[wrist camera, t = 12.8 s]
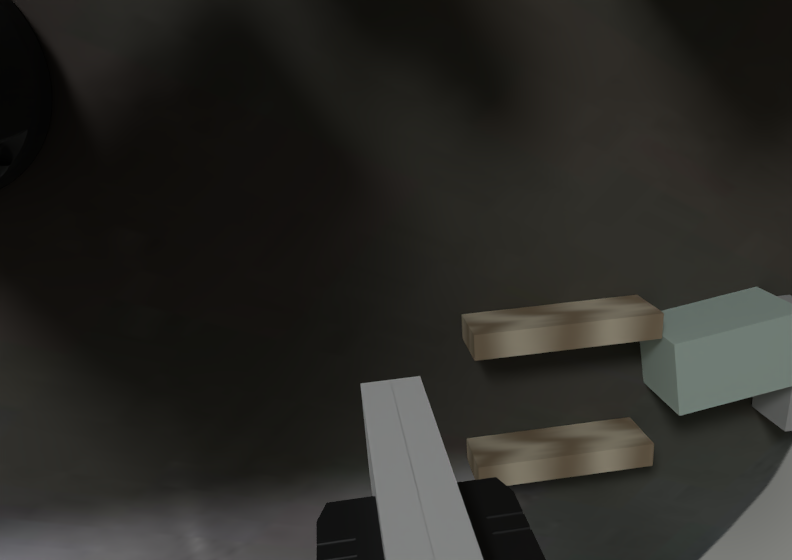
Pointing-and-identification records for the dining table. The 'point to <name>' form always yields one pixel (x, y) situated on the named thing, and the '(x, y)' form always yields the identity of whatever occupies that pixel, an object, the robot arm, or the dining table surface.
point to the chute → (569, 444)
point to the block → (720, 351)
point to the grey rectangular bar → (776, 401)
